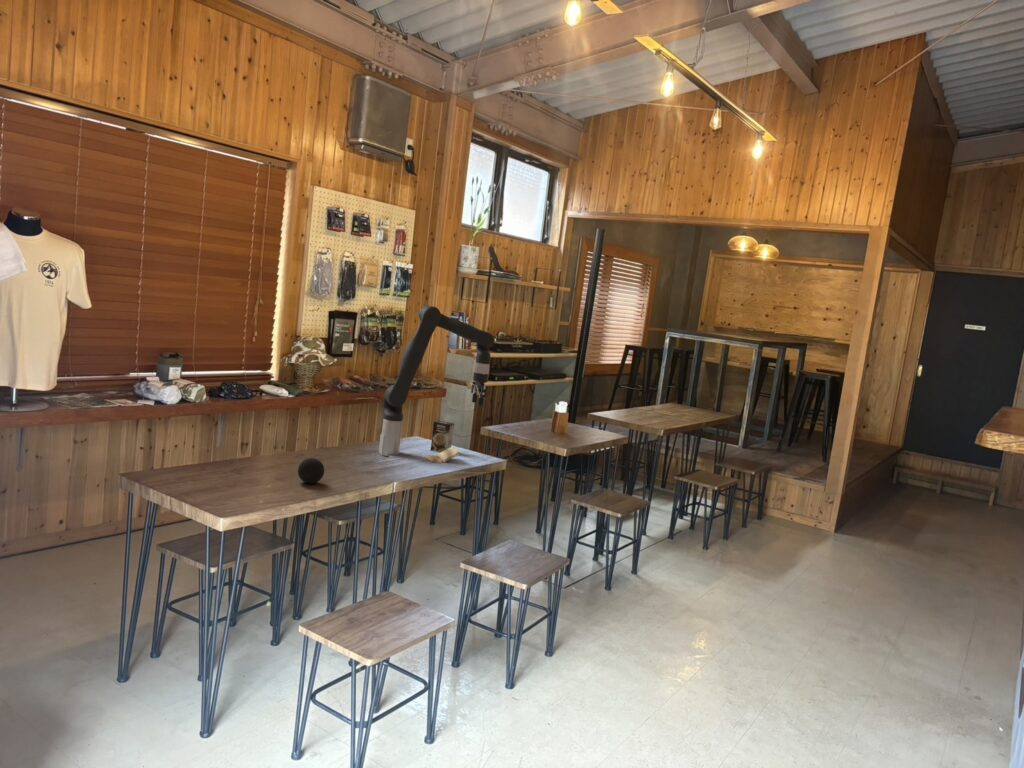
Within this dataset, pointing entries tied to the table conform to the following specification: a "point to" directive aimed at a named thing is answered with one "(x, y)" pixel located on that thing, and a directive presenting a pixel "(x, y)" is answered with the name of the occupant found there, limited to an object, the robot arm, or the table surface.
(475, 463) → the table surface
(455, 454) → the loose plank
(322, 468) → the speaker
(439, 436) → the coffee box
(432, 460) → the plank
